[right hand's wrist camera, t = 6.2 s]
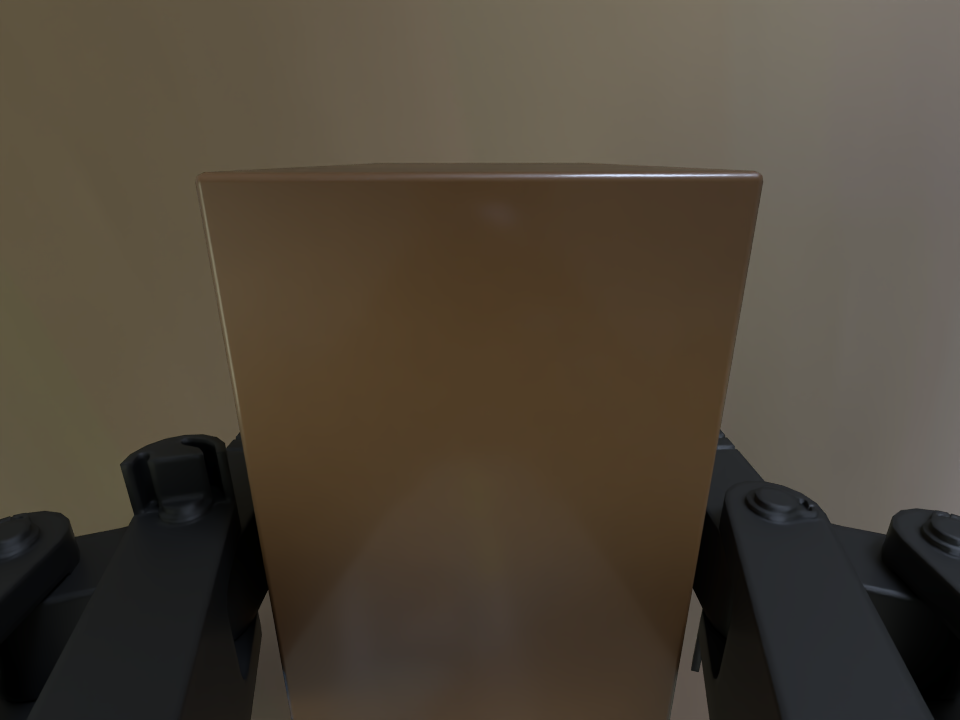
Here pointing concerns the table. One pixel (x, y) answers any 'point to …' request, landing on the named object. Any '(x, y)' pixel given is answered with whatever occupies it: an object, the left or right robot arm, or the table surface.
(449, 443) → the bar
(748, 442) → the table surface
